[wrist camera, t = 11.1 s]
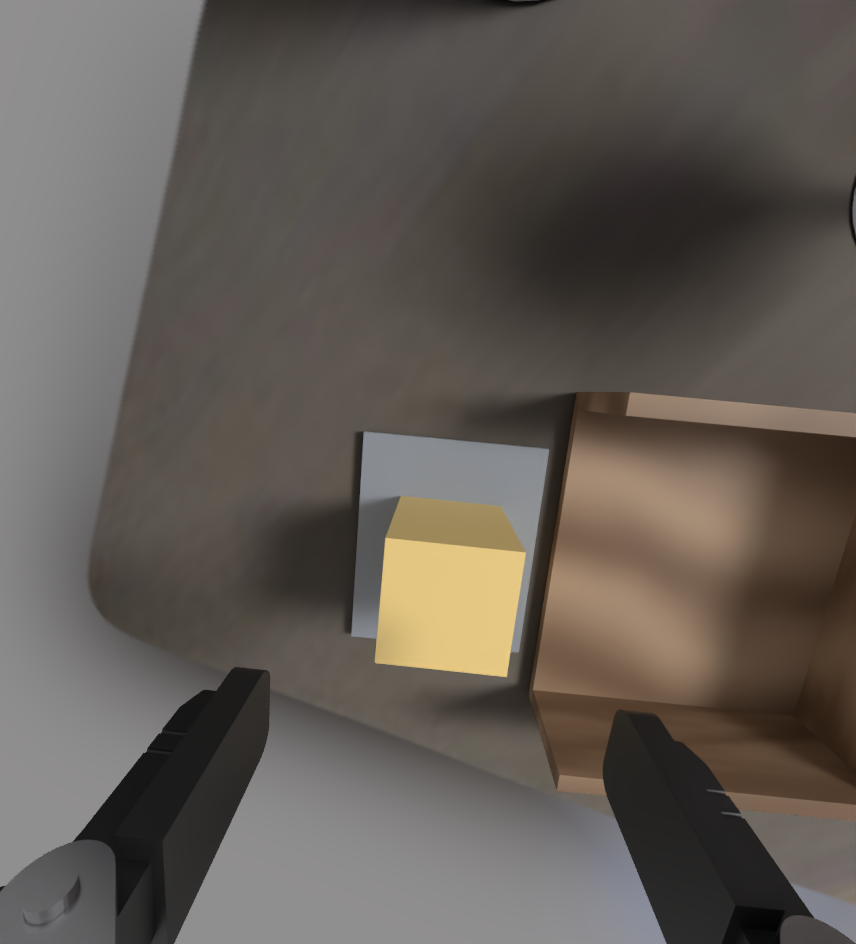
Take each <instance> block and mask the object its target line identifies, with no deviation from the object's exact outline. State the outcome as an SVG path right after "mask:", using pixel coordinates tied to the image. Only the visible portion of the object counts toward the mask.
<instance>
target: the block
mask: <svg viewBox="0 0 856 944" xmlns="http://www.w3.org/2000/svg"><path fill="white" fill-rule="evenodd" d="M525 556H526V552H525V550H524V548H523V546H522V544H521V542H520V541H519V539H518V537H517V535H516V533H515V531H514V530H513V528H512V526H511V524H510V522H509V520H508V518H507V517H506V515H505V513H504V511H503V509H502V507H501V506H494V505H484V504H475V503H465V502H456V501H446V500H436V499H427V498H417V497H408V496H401V497H400V500H399V502H398V505H397V508H396V511H395V513H394V516H393V519H392V521H391V524H390V527H389V530H388V532H387V535H386V538H385V549H384V561H383V573H382V584H381V596H380V608H379V620H378V632H377V643H376V655H375V663H381V664H390V665H400V666H409V667H418V668H428V669H437V670H446V671H456V672H465V673H474V674H484V675H493V676H502V677H507V671H508V665H509V658H510V652H511V646H512V639H513V633H514V626H515V620H516V613H517V607H518V601H519V594H520V588H521V581H522V575H523V569H524V562H525Z"/></svg>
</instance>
